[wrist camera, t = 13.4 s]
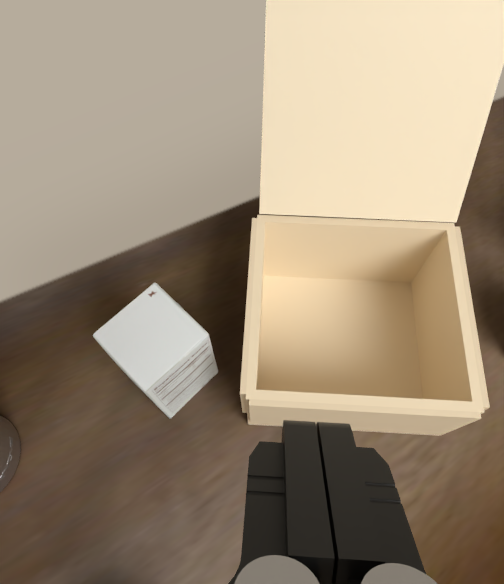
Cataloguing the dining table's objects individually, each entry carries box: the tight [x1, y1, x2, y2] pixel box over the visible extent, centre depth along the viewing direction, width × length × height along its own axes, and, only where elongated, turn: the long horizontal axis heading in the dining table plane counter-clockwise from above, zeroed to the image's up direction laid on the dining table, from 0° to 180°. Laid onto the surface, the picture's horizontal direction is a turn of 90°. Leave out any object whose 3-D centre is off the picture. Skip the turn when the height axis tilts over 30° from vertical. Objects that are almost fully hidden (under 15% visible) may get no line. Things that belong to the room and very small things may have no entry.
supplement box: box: [93, 283, 218, 418], centre depth 45 cm, size 7×7×13 cm
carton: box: [240, 215, 490, 436], centre depth 46 cm, size 20×18×12 cm
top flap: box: [259, 0, 504, 222], centre depth 39 cm, size 19×18×1 cm
